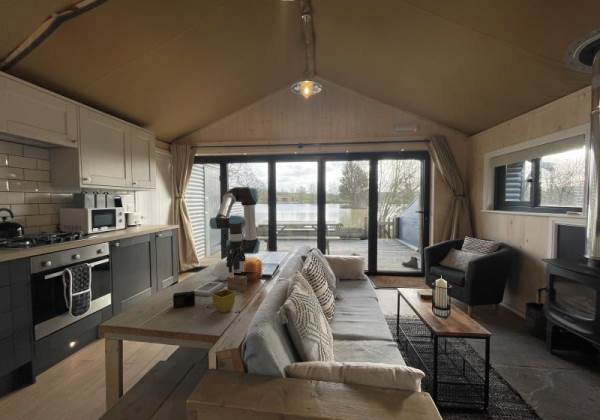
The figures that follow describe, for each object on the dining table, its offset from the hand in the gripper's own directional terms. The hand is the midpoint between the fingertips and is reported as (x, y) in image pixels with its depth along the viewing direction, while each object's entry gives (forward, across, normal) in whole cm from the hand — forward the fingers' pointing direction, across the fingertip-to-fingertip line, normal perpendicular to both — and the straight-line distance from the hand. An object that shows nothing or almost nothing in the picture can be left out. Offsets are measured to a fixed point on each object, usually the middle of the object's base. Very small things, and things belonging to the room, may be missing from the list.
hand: (236, 274), depth 170 cm
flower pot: (+10, +28, +8) cm, 31 cm away
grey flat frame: (+10, +4, -17) cm, 20 cm away
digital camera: (+10, +29, -15) cm, 35 cm away
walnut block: (+10, 0, 0) cm, 10 cm away
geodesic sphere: (+9, -16, -18) cm, 26 cm away
